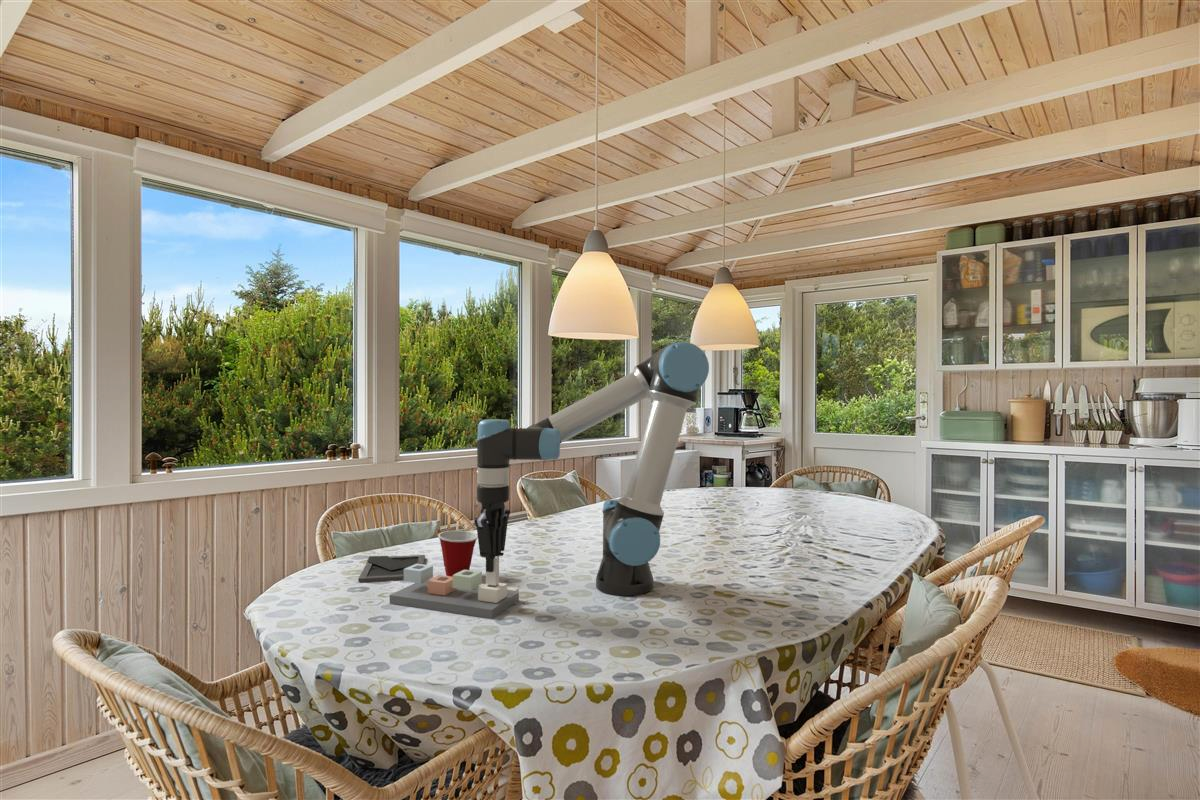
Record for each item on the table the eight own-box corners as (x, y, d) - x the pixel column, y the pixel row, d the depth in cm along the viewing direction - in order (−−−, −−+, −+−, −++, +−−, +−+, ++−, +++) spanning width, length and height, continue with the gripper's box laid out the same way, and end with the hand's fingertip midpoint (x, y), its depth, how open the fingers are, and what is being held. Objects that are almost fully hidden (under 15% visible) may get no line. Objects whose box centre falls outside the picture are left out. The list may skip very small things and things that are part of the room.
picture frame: (369, 562, 185) (358, 584, 164) (369, 556, 185) (358, 577, 164) (425, 559, 188) (420, 580, 168) (425, 553, 188) (420, 573, 168)
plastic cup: (468, 585, 163) (468, 539, 163) (430, 582, 165) (430, 537, 165) (484, 573, 173) (484, 530, 173) (448, 570, 176) (448, 528, 175)
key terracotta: (456, 589, 152) (457, 576, 152) (445, 595, 148) (445, 582, 148) (439, 586, 154) (439, 574, 154) (427, 593, 149) (427, 580, 149)
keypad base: (518, 600, 151) (518, 588, 151) (491, 618, 139) (492, 605, 139) (422, 587, 161) (422, 575, 161) (389, 603, 148) (389, 590, 148)
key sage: (481, 584, 150) (481, 571, 150) (470, 590, 145) (470, 576, 145) (464, 581, 152) (464, 568, 152) (452, 587, 147) (452, 574, 147)
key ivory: (507, 596, 148) (507, 583, 148) (496, 602, 143) (496, 589, 143) (488, 593, 149) (489, 580, 149) (478, 600, 145) (478, 586, 145)
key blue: (433, 577, 155) (433, 565, 155) (420, 583, 150) (420, 570, 150) (416, 575, 157) (416, 563, 156) (403, 581, 152) (403, 568, 152)
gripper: (493, 480, 153) (492, 574, 154) (464, 487, 141) (463, 590, 141) (520, 482, 151) (519, 578, 151) (493, 489, 138) (492, 594, 139)
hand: (492, 584), depth 146 cm, fingers closed
